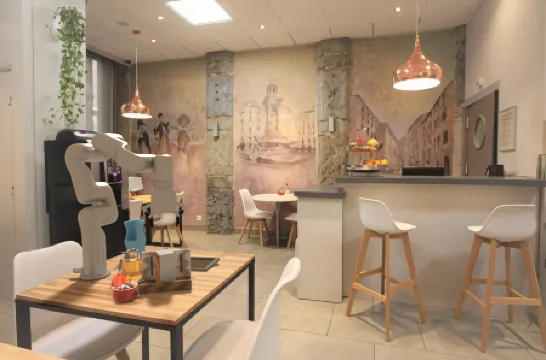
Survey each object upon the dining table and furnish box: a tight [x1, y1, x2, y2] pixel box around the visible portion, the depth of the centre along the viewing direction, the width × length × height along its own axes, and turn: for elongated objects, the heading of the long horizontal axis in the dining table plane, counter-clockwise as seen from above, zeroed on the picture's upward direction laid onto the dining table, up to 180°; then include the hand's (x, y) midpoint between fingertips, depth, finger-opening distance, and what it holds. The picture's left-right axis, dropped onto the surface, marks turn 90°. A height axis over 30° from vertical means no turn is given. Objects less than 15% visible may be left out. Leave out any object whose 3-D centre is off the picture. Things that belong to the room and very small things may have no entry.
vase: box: [123, 219, 147, 260], centre depth 183 cm, size 8×8×20 cm
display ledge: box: [137, 247, 193, 295], centre depth 141 cm, size 20×15×14 cm
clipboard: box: [191, 256, 221, 272], centre depth 171 cm, size 19×2×30 cm
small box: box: [154, 248, 176, 283], centre depth 141 cm, size 8×6×13 cm
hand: (164, 226), depth 140 cm, fingers open, 9 cm apart
